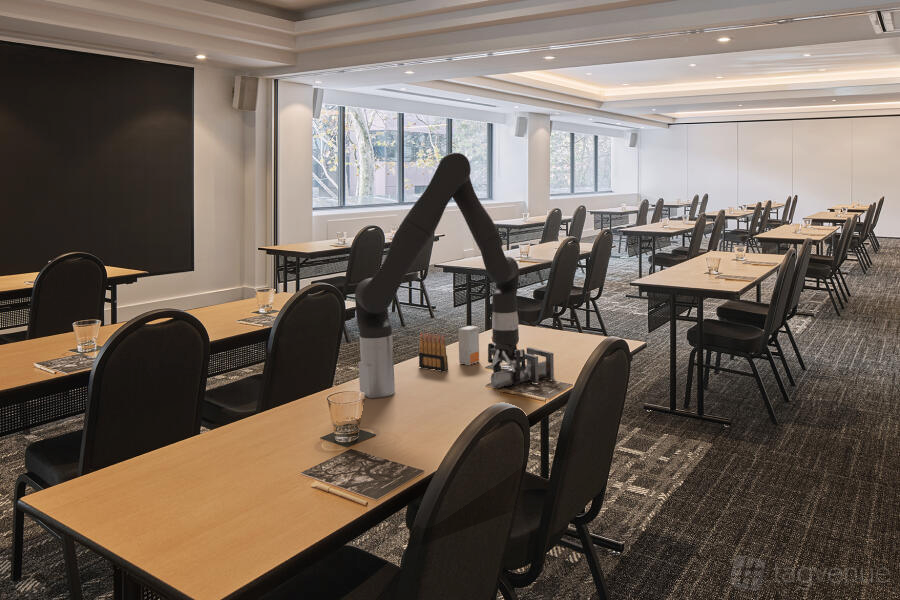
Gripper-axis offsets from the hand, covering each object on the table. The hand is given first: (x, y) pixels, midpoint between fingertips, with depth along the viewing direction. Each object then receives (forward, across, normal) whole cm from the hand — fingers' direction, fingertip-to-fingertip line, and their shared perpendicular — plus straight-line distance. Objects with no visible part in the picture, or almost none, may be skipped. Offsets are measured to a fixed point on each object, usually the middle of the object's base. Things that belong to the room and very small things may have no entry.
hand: (506, 381), depth 215 cm
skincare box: (+2, -29, +8) cm, 30 cm away
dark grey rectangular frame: (+1, 0, +13) cm, 13 cm away
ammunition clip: (+2, -31, -5) cm, 31 cm away
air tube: (+1, 0, +6) cm, 6 cm away
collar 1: (+1, 0, +7) cm, 7 cm away
